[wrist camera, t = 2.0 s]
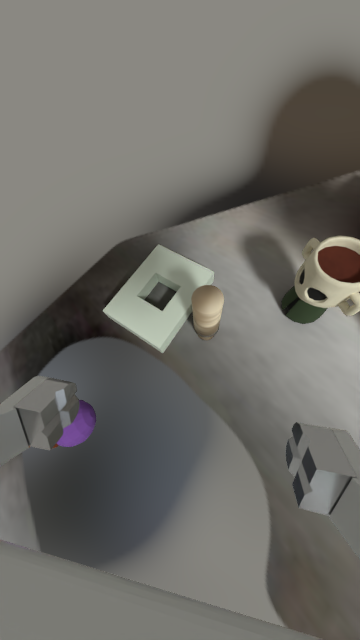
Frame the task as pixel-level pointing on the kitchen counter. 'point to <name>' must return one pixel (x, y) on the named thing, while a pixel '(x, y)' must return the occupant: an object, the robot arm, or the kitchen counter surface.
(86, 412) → the purple and orange maraca
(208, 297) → the beech peg
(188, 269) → the sage board
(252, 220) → the kitchen counter surface
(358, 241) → the character mug
